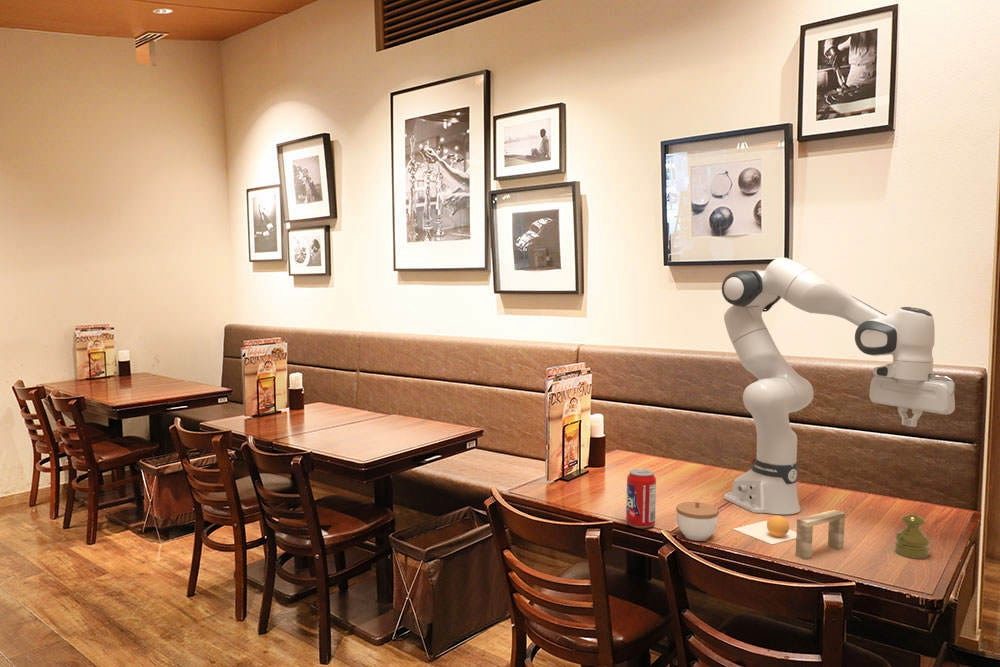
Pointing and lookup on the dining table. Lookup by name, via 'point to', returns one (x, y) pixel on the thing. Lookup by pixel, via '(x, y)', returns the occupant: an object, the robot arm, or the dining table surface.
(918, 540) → the green tiered figurine
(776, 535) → the ball
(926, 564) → the dining table surface
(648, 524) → the soda can
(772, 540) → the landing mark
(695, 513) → the lidded jar
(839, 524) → the bridge
